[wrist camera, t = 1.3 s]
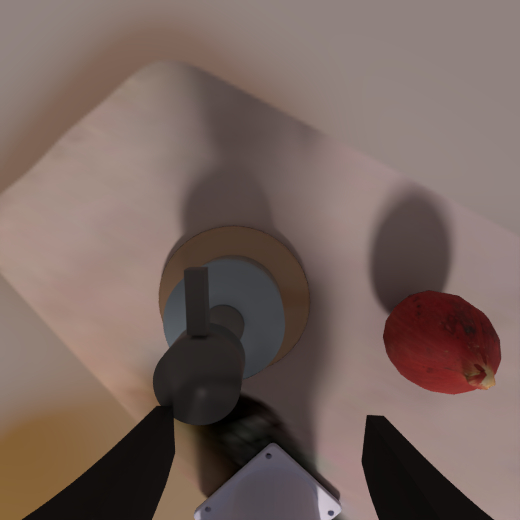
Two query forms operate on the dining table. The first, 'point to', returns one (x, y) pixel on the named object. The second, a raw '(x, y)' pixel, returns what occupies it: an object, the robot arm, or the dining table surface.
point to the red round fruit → (442, 343)
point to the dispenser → (241, 292)
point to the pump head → (200, 361)
